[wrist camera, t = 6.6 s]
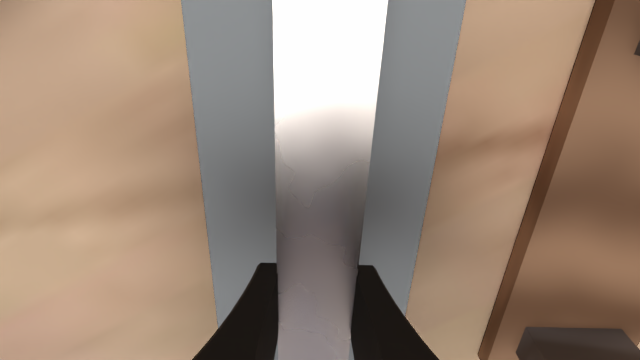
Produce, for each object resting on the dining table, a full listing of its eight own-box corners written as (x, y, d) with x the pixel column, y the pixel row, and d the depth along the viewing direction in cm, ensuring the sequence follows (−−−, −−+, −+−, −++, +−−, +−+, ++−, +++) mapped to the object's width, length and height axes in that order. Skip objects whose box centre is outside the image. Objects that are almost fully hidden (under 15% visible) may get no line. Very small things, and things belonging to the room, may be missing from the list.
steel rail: (332, 439, 20) (334, 497, 18) (282, 438, 20) (278, 497, 18) (387, -143, 9) (411, -180, 7) (278, -149, 9) (266, -188, 7)
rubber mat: (389, 380, 24) (390, 389, 24) (226, 378, 24) (224, 387, 24) (489, -158, 12) (497, -164, 12) (167, -176, 12) (160, -182, 12)
